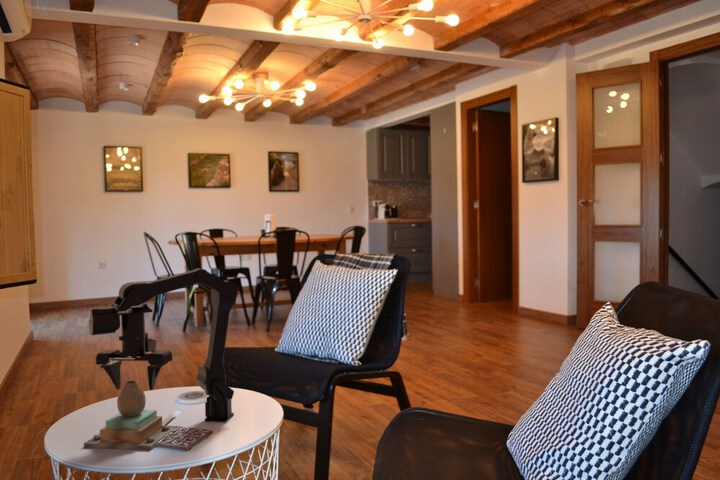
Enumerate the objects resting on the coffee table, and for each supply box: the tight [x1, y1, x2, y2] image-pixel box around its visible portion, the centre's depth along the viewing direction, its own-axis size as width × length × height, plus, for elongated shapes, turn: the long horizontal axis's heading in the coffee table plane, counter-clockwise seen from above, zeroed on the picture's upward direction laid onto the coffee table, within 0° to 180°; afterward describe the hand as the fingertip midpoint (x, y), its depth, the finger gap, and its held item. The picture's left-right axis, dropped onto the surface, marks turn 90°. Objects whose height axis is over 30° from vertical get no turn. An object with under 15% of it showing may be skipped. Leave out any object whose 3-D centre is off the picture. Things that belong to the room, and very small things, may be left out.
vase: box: [116, 380, 147, 418], centre depth 146 cm, size 7×7×9 cm
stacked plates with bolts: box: [83, 409, 178, 451], centre depth 146 cm, size 18×14×6 cm
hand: (135, 389), depth 147 cm, fingers open, 9 cm apart
